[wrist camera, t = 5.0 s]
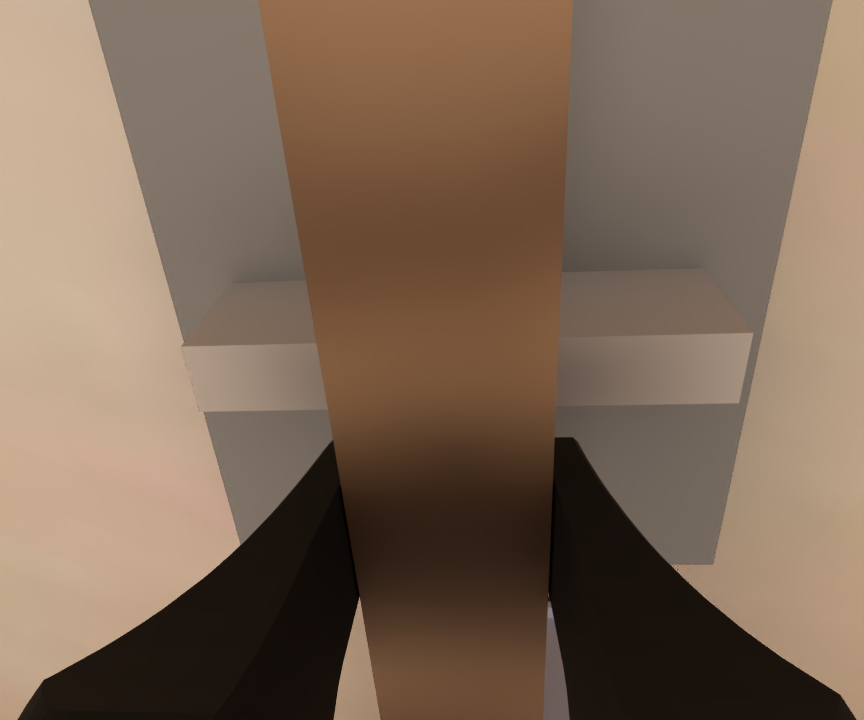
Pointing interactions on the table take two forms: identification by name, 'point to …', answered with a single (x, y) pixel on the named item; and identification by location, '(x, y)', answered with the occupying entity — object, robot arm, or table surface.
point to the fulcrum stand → (582, 238)
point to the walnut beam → (436, 321)
